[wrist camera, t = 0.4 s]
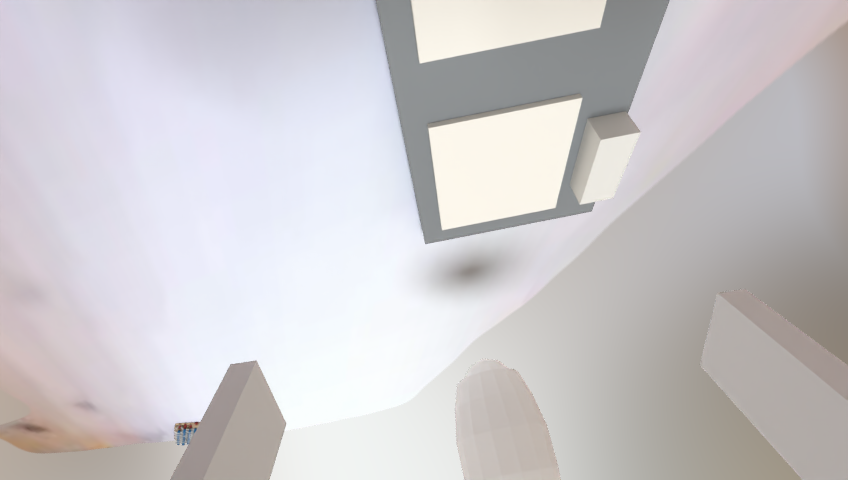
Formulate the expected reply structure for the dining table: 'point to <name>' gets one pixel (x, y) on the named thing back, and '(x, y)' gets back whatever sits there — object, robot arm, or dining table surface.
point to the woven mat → (185, 432)
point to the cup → (501, 427)
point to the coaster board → (515, 104)
